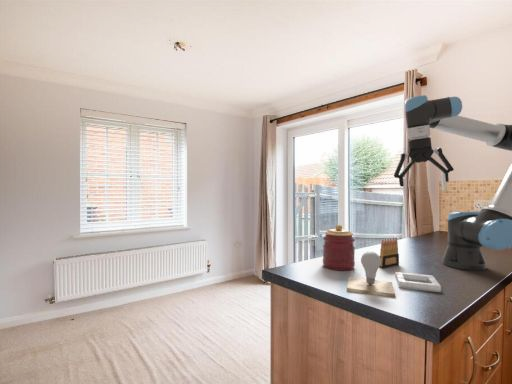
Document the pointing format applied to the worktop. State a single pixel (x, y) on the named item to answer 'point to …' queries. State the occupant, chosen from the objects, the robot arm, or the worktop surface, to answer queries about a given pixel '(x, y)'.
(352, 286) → the birch board
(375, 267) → the lightbulb
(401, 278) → the collar holder
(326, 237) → the canister
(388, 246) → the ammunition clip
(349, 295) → the worktop surface
